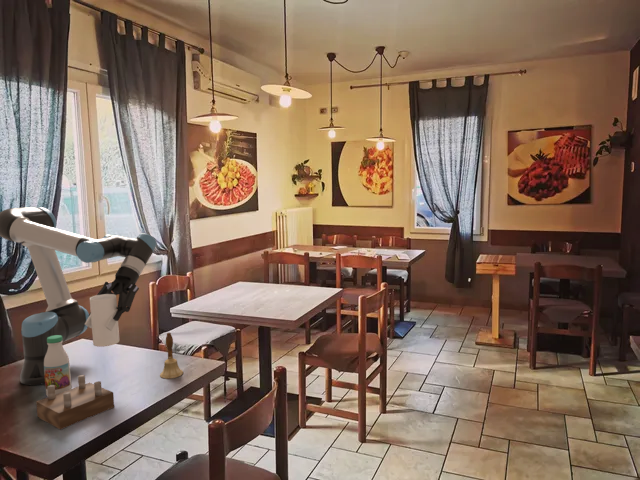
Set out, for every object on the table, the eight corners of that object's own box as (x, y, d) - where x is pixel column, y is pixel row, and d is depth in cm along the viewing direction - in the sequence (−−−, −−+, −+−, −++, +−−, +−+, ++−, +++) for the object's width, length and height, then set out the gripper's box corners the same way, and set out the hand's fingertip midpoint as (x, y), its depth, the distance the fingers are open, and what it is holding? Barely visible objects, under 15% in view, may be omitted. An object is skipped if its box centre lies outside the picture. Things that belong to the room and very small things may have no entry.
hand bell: (155, 377, 178) (152, 335, 176) (167, 369, 186) (165, 329, 184) (175, 379, 176) (173, 337, 174) (187, 371, 184) (185, 330, 182)
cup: (111, 346, 160) (107, 299, 158) (88, 346, 161) (84, 299, 159) (124, 338, 168) (120, 294, 167) (101, 338, 169) (98, 293, 167)
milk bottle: (48, 390, 168) (43, 334, 166) (73, 387, 171) (68, 332, 168) (44, 399, 161) (39, 341, 158) (70, 395, 163) (65, 338, 161)
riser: (37, 416, 149) (34, 388, 148) (90, 396, 162) (88, 371, 161) (60, 429, 141) (57, 400, 140) (114, 407, 154) (112, 380, 153)
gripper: (158, 278, 173) (128, 335, 160) (113, 275, 181) (81, 329, 168) (147, 266, 168) (115, 324, 155) (101, 264, 175) (67, 318, 162)
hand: (97, 327), depth 161 cm, fingers closed on cup, 8 cm apart
